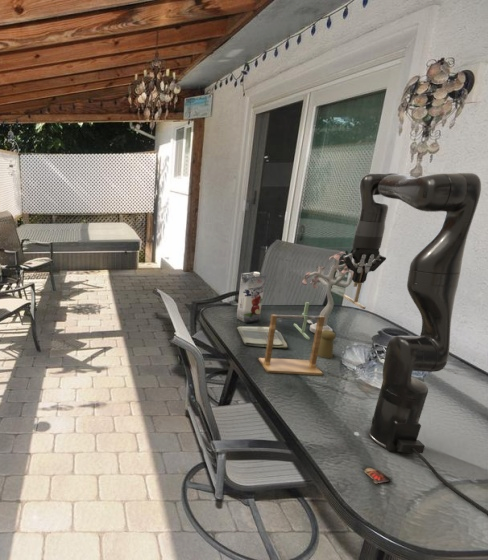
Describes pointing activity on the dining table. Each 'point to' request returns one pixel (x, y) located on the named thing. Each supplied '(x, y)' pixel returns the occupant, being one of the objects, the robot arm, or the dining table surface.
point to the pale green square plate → (260, 337)
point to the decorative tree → (328, 287)
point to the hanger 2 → (356, 293)
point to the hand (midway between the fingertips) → (358, 282)
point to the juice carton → (250, 296)
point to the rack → (292, 364)
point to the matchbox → (377, 475)
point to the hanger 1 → (304, 321)
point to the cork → (326, 344)
